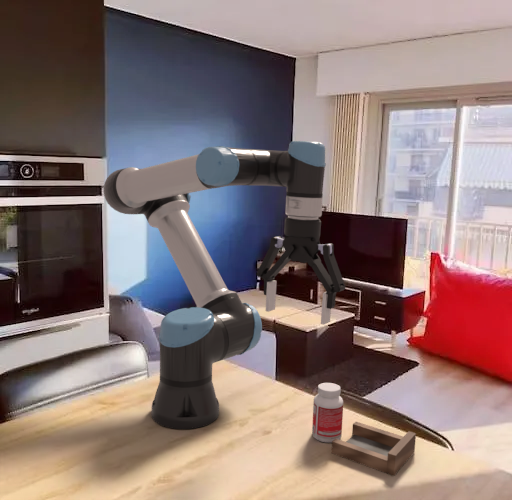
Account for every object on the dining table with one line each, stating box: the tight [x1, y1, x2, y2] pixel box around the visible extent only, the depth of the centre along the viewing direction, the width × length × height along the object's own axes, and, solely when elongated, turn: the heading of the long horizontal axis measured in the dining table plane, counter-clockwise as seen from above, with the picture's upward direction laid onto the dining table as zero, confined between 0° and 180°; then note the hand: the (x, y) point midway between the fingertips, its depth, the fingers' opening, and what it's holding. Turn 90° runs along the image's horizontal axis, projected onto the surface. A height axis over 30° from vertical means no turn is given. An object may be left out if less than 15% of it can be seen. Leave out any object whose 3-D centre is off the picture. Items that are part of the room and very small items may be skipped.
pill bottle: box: [311, 382, 344, 444], centre depth 114 cm, size 6×6×11 cm
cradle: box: [331, 421, 417, 477], centre depth 109 cm, size 13×11×4 cm
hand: (296, 316), depth 116 cm, fingers open, 13 cm apart
